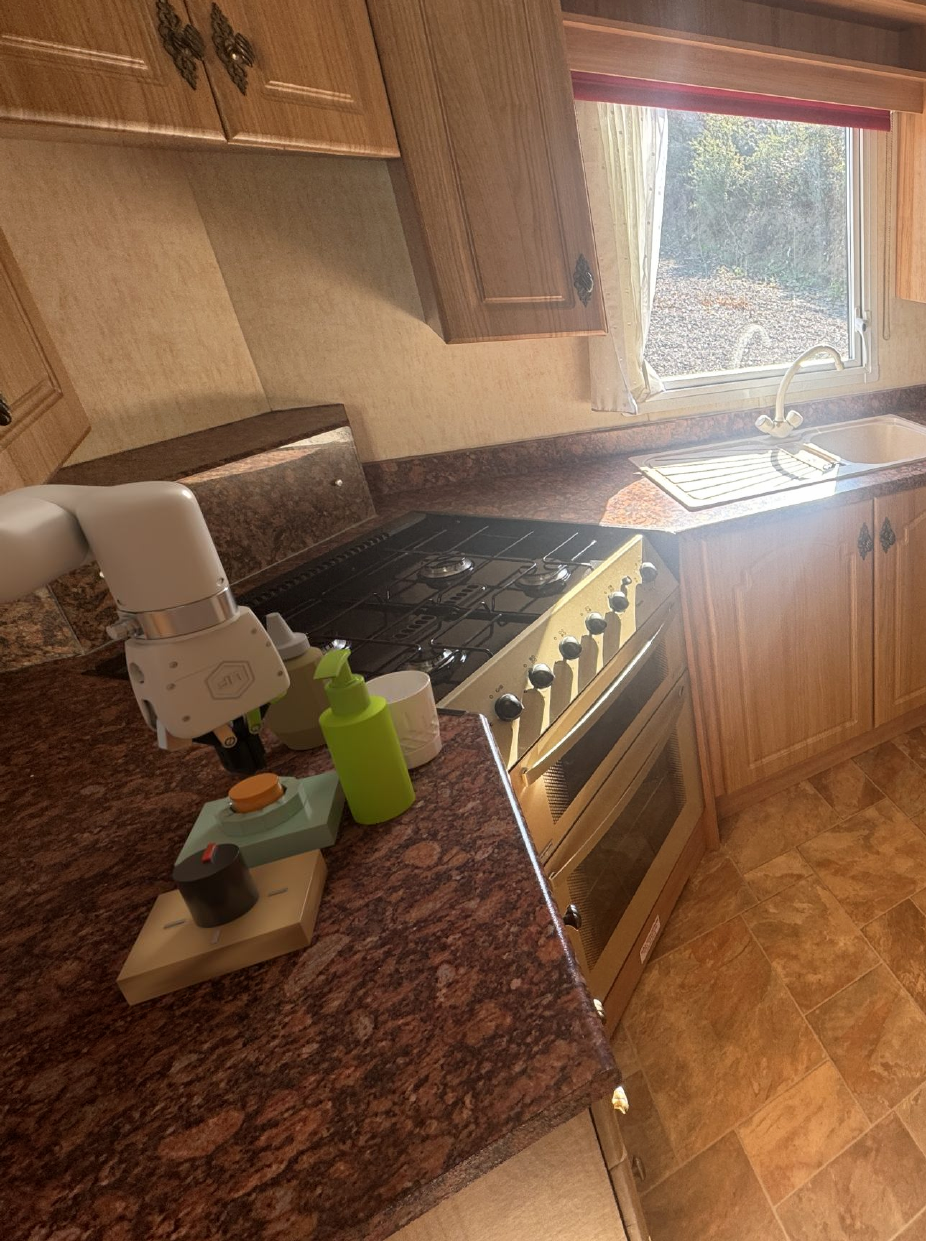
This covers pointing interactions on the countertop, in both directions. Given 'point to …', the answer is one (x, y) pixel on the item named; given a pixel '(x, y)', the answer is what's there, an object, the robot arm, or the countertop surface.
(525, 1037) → the countertop surface
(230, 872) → the dial
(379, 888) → the countertop surface
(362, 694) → the soap dispenser
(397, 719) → the white cup
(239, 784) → the orange arcade button
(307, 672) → the squeeze bottle
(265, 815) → the green button base
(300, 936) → the dial panel
